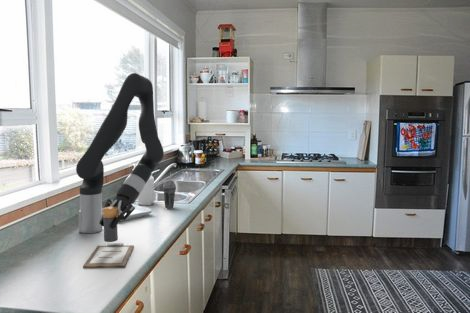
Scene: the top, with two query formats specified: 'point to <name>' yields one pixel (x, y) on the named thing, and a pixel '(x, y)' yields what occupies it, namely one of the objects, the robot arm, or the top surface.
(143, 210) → the salad plate
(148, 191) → the milk carton
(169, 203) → the beverage cup
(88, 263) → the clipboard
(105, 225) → the orange-capped grey cylinder
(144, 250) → the top surface
